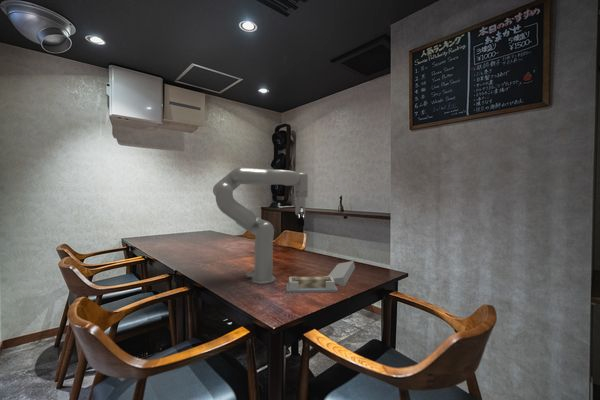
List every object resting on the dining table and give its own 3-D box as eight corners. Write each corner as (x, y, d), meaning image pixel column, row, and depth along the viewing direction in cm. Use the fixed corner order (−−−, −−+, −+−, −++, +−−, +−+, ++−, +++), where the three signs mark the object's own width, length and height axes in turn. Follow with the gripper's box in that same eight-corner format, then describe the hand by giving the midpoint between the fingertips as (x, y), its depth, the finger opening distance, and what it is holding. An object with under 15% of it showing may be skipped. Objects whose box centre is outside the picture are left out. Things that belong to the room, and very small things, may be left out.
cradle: (286, 292, 121) (286, 283, 121) (286, 285, 131) (286, 276, 131) (337, 291, 123) (337, 282, 122) (333, 284, 133) (333, 275, 132)
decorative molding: (326, 289, 134) (345, 286, 130) (324, 280, 134) (343, 277, 130) (340, 271, 166) (355, 268, 162) (338, 263, 166) (353, 260, 162)
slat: (295, 288, 124) (295, 279, 124) (295, 285, 128) (295, 277, 128) (328, 287, 125) (328, 279, 125) (327, 284, 129) (327, 276, 129)
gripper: (293, 194, 155) (293, 223, 155) (294, 194, 137) (294, 227, 138) (306, 194, 155) (305, 223, 156) (309, 194, 138) (308, 227, 138)
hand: (300, 225), depth 147 cm, fingers open, 9 cm apart
